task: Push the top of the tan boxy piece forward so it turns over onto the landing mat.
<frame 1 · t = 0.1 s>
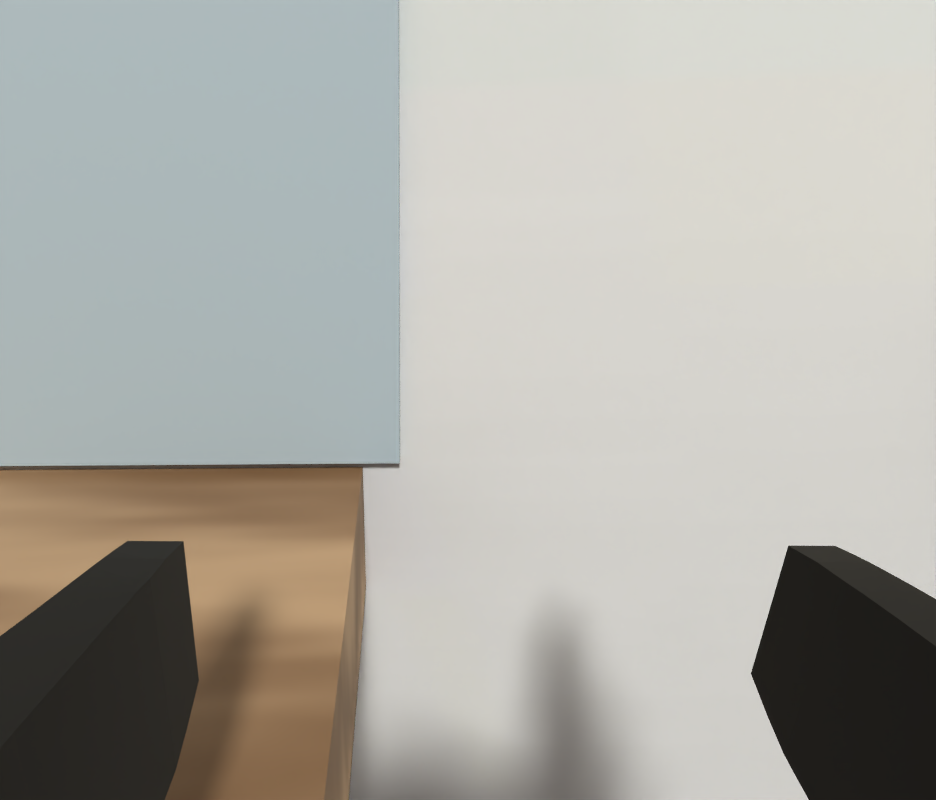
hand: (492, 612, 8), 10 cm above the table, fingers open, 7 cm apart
landing mat: (46, 246, 16), on the table
tan boxy piece: (106, 532, 19), on the table
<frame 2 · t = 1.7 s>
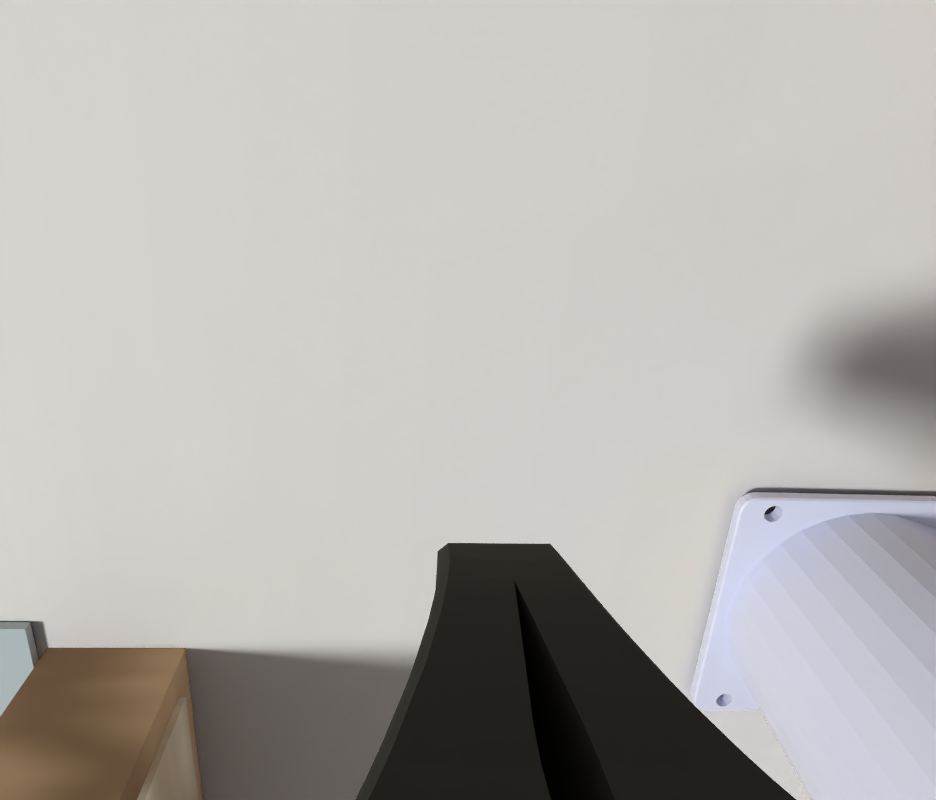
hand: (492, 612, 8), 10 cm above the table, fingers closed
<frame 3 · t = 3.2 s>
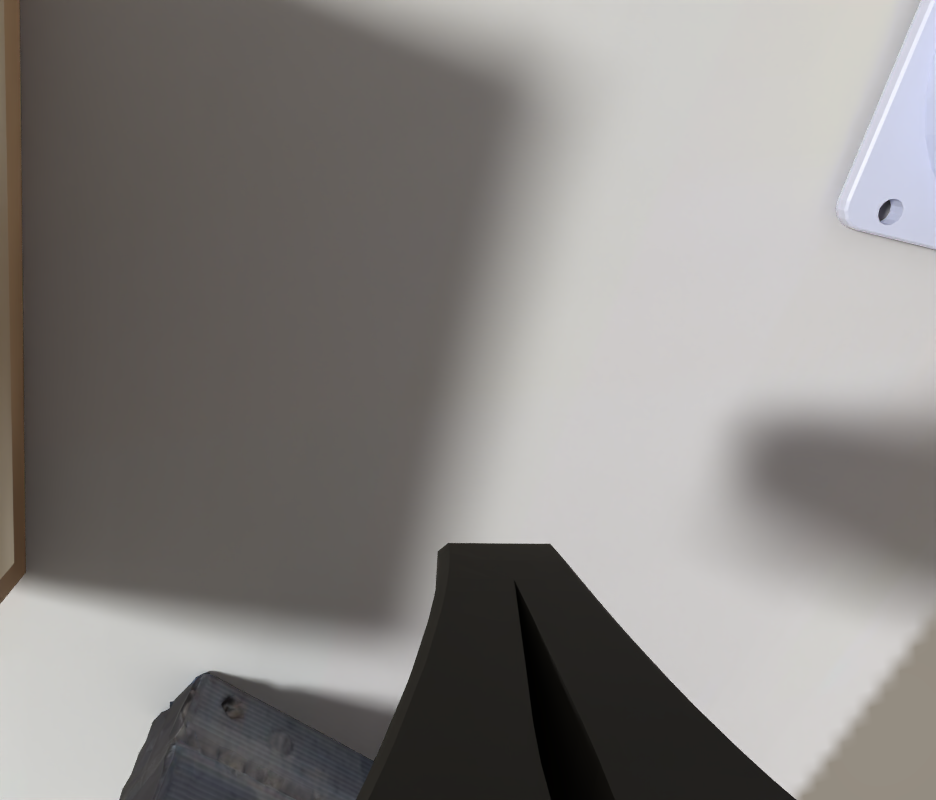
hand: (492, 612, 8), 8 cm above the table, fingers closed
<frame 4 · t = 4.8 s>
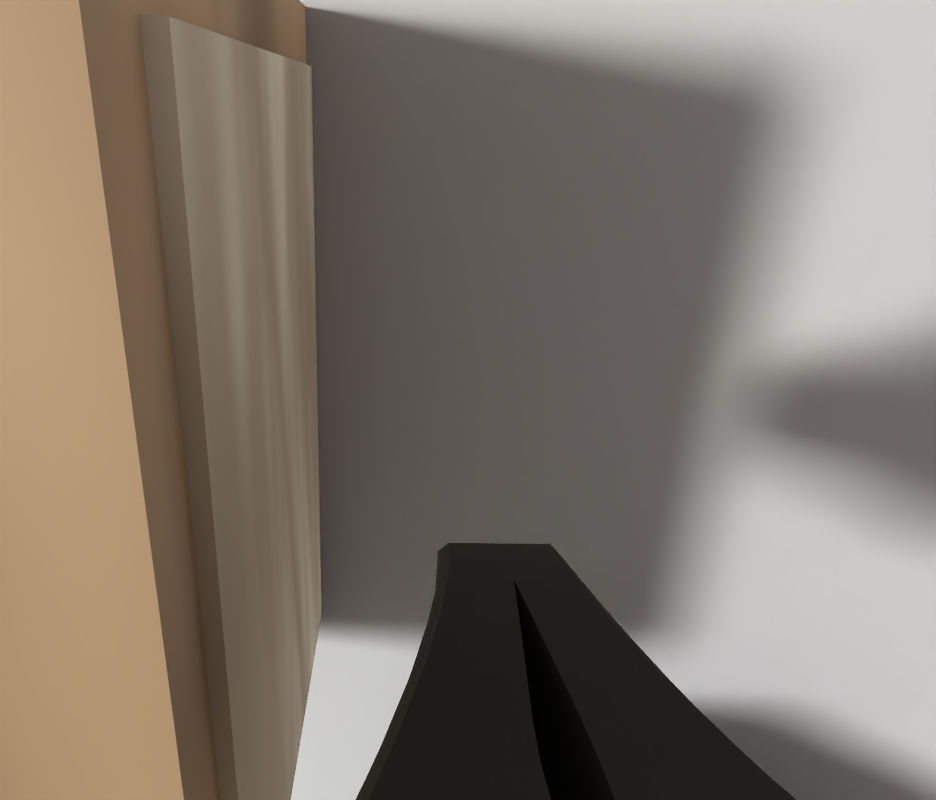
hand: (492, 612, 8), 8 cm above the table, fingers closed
tan boxy piece: (220, 363, 15), on the table
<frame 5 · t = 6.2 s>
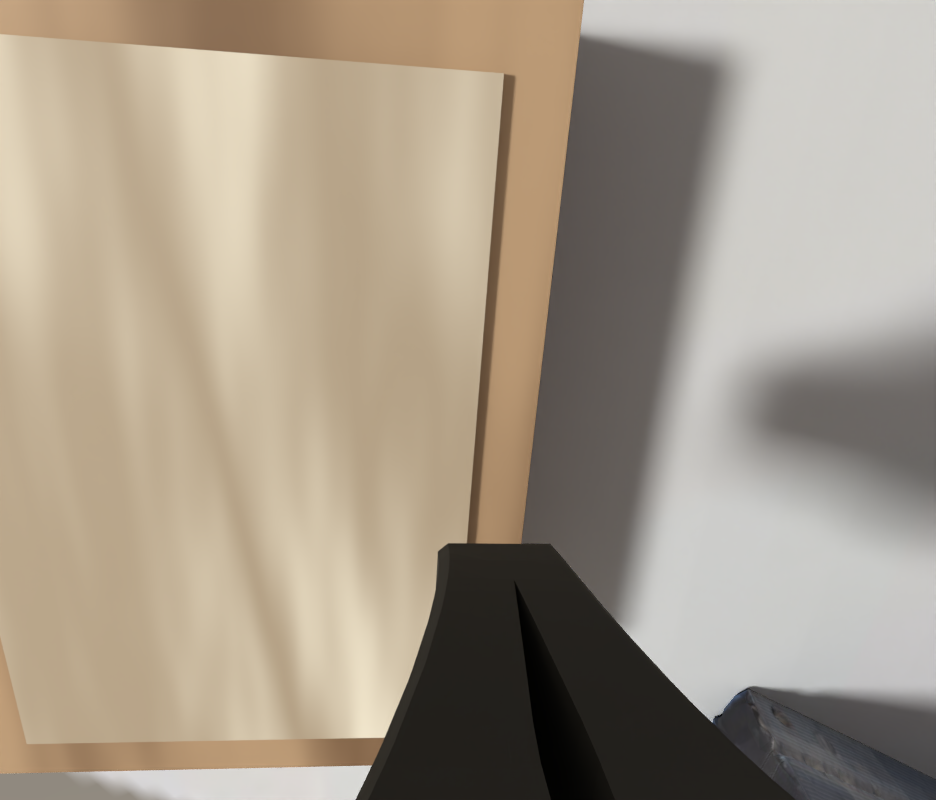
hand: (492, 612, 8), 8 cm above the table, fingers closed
vhs cassette tape: (912, 798, 23), on the table
tan boxy piece: (513, 418, 14), point 2 cm above the table, tilted 90°, touching landing mat
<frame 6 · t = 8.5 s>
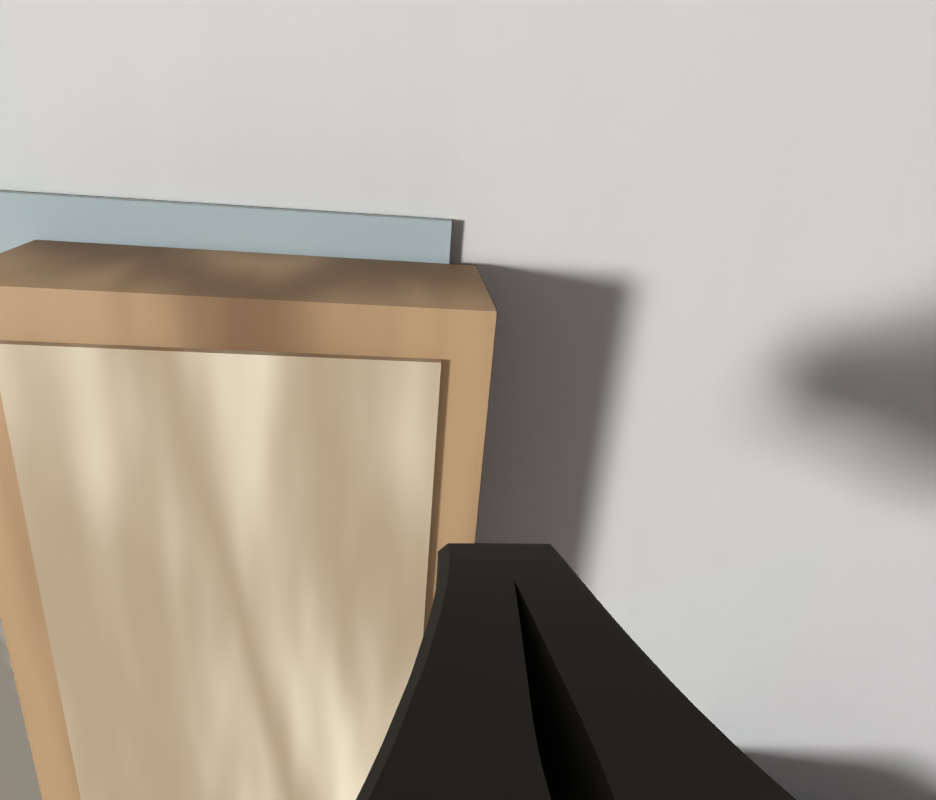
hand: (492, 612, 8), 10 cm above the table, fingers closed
landing mat: (231, 503, 19), on the table
tan boxy piece: (461, 556, 18), point 2 cm above the table, tilted 90°, touching landing mat
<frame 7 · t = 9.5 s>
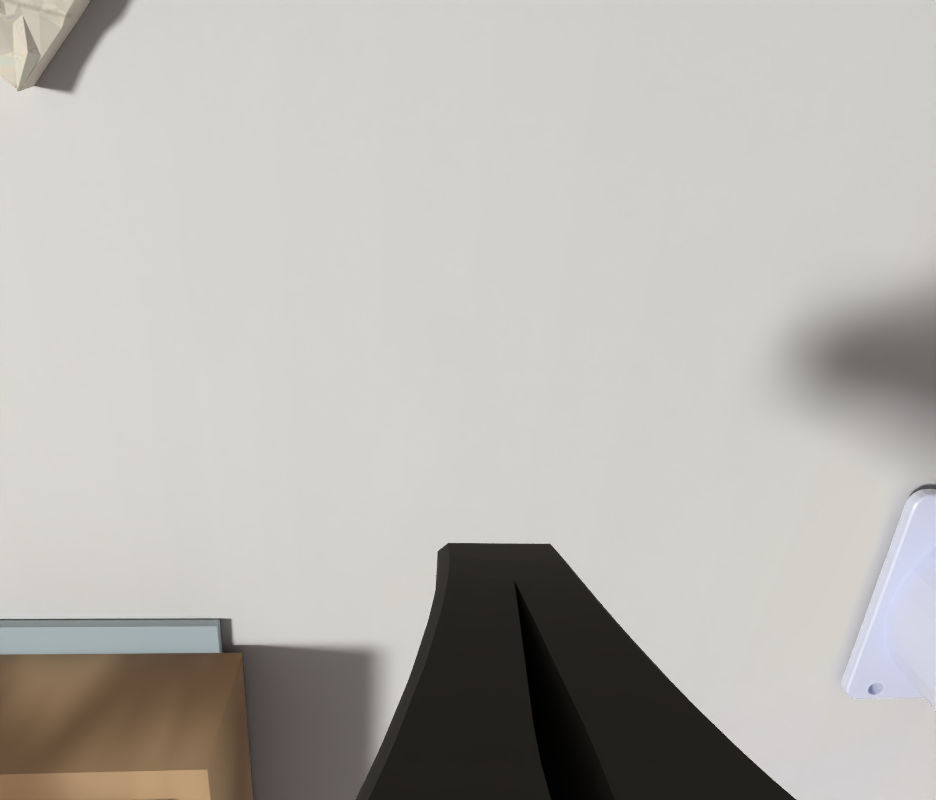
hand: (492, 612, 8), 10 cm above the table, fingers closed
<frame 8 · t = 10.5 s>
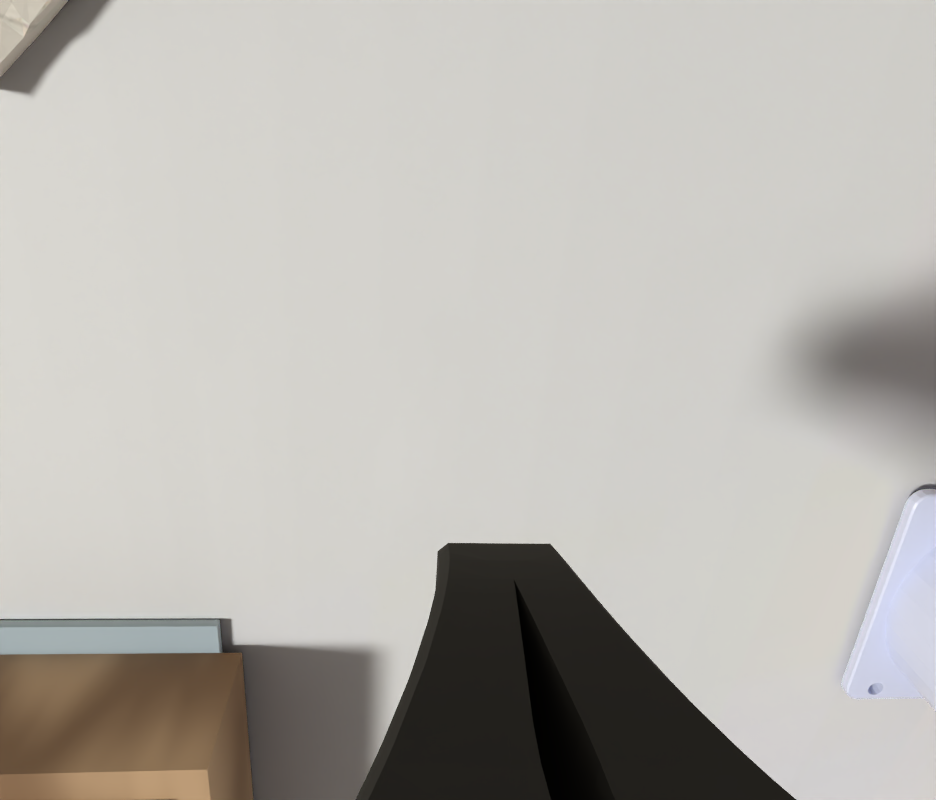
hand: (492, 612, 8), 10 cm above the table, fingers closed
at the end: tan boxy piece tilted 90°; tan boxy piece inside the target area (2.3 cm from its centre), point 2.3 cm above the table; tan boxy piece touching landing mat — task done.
